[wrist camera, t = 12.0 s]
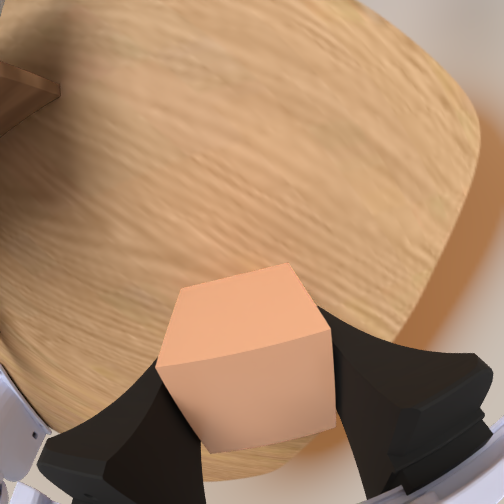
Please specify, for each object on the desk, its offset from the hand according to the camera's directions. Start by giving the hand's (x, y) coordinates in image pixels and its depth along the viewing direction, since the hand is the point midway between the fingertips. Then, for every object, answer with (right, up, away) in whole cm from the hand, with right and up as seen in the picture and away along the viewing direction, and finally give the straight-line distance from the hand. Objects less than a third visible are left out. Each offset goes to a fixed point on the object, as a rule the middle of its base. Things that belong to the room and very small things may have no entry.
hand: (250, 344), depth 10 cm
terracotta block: (0, +1, +1) cm, 2 cm away
